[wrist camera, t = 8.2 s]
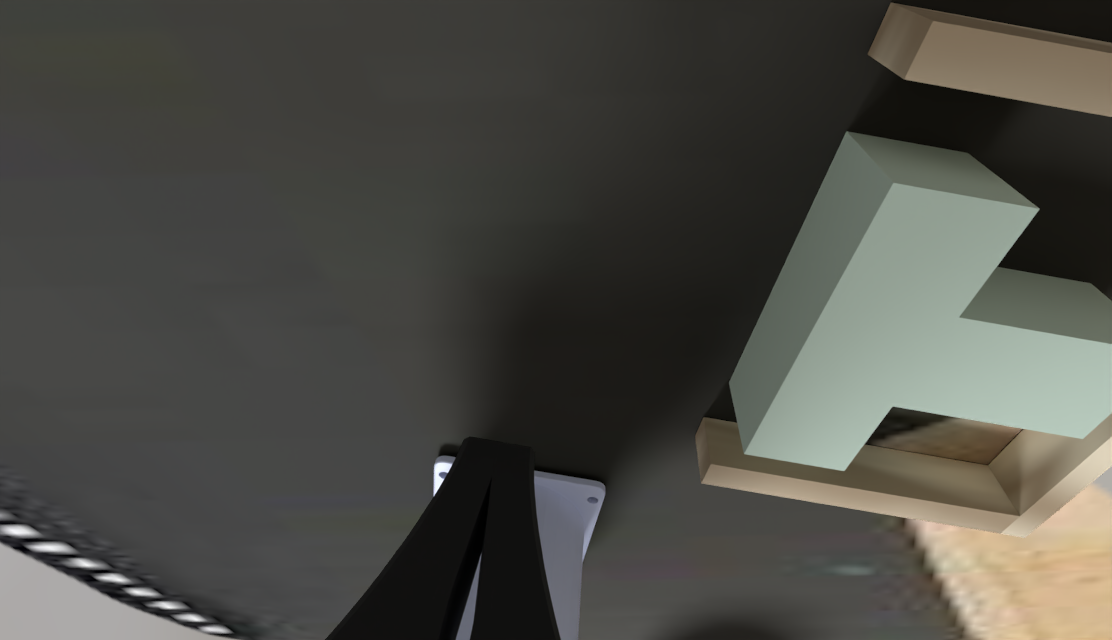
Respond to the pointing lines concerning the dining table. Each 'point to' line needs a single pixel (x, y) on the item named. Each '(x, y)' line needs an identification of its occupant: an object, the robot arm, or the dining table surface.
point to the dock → (1032, 457)
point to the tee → (916, 314)
